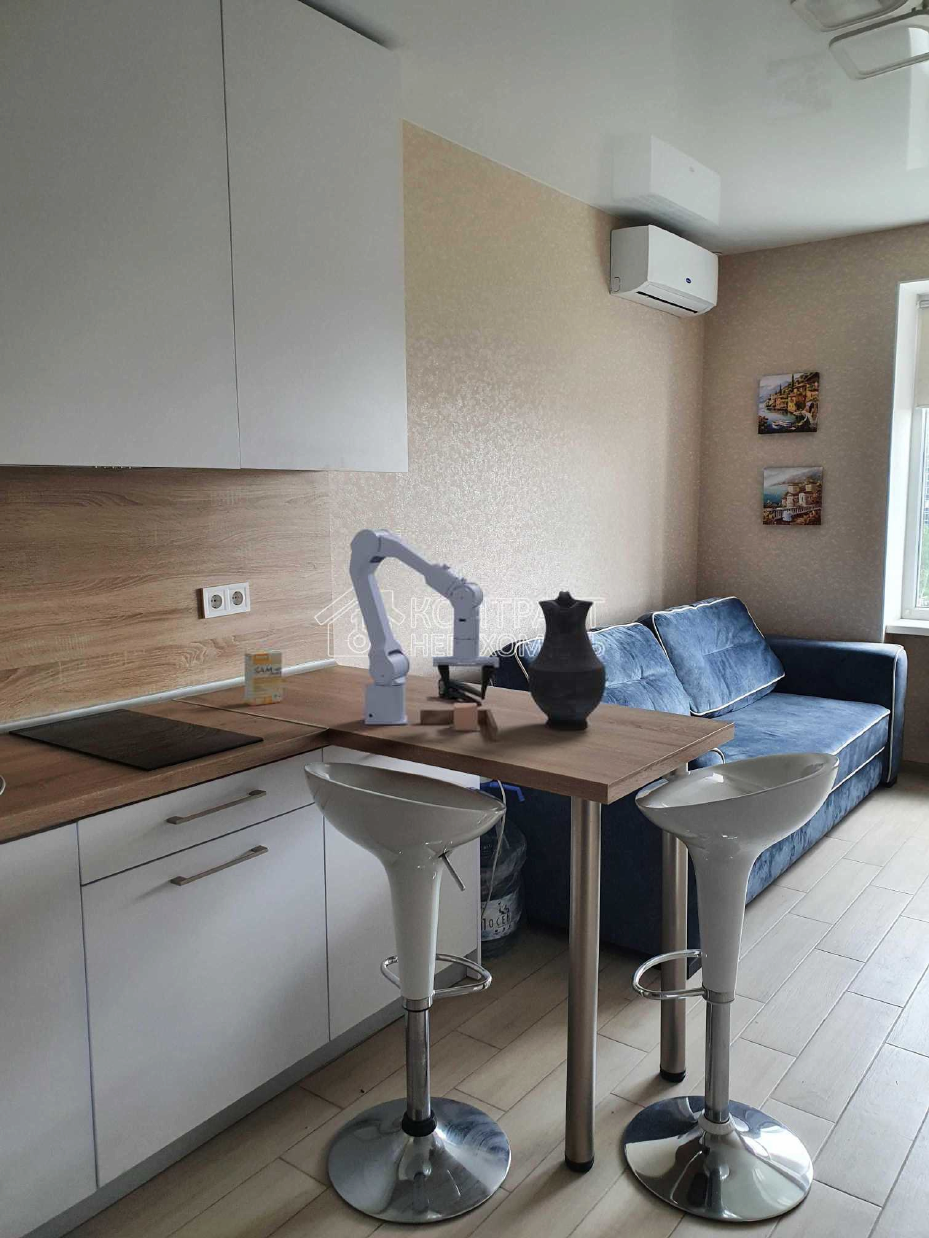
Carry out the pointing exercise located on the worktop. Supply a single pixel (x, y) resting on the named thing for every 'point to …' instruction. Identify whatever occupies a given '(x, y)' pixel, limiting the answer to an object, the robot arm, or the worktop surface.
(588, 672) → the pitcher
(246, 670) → the supplement box
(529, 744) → the worktop surface
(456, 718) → the cube
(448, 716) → the arena
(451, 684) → the can opener
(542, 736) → the worktop surface
